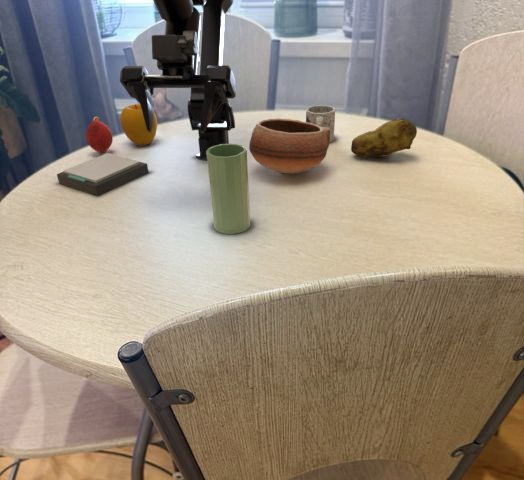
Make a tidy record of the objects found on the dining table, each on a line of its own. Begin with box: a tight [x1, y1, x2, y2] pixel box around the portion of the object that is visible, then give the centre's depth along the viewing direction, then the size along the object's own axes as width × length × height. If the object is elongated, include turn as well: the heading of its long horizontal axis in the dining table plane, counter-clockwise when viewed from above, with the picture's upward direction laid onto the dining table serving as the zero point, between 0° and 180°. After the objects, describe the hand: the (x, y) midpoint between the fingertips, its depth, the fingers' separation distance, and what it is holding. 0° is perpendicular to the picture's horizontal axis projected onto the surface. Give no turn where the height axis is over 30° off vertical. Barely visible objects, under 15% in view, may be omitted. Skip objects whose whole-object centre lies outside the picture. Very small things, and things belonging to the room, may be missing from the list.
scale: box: [56, 152, 150, 197], centre depth 111 cm, size 14×12×3 cm
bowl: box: [248, 118, 331, 174], centre depth 108 cm, size 16×16×10 cm
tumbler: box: [206, 143, 251, 235], centre depth 88 cm, size 6×6×13 cm
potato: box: [350, 118, 418, 158], centre depth 113 cm, size 8×13×8 cm, turn 63°
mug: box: [305, 104, 336, 143], centre depth 122 cm, size 10×7×7 cm, turn 172°
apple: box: [119, 103, 158, 147], centre depth 125 cm, size 8×8×9 cm
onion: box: [85, 116, 114, 155], centre depth 121 cm, size 6×6×8 cm
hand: (175, 131), depth 89 cm, fingers open, 9 cm apart
